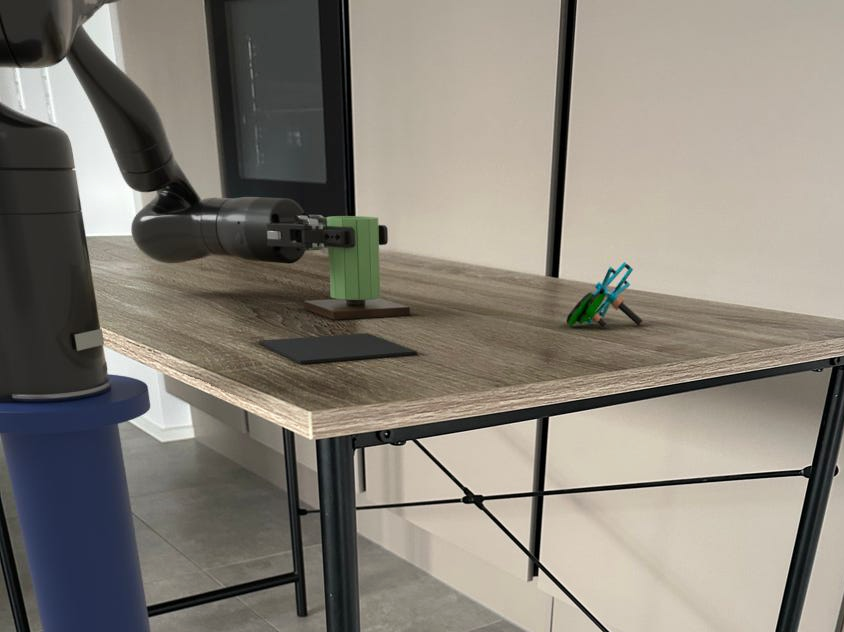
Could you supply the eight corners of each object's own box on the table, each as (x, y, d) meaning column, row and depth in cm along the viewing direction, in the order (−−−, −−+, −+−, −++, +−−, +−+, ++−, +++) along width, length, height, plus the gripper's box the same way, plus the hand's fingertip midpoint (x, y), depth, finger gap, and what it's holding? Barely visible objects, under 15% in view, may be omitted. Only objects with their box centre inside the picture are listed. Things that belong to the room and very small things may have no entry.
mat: (300, 364, 87) (300, 360, 86) (259, 343, 96) (259, 340, 96) (417, 354, 92) (417, 351, 92) (367, 335, 101) (367, 333, 101)
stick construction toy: (600, 296, 117) (629, 246, 111) (642, 332, 117) (673, 285, 110) (547, 334, 110) (574, 284, 104) (590, 374, 110) (621, 325, 103)
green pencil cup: (342, 301, 112) (338, 218, 108) (323, 295, 117) (319, 216, 113) (388, 298, 115) (386, 218, 111) (368, 293, 120) (365, 216, 116)
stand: (333, 320, 111) (329, 237, 107) (304, 309, 119) (299, 231, 114) (410, 315, 115) (408, 235, 111) (376, 305, 123) (374, 230, 119)
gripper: (218, 198, 112) (330, 202, 104) (297, 196, 123) (403, 200, 116) (225, 265, 115) (334, 274, 108) (301, 258, 126) (404, 266, 119)
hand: (369, 236), depth 112 cm, fingers closed on green pencil cup, 6 cm apart
